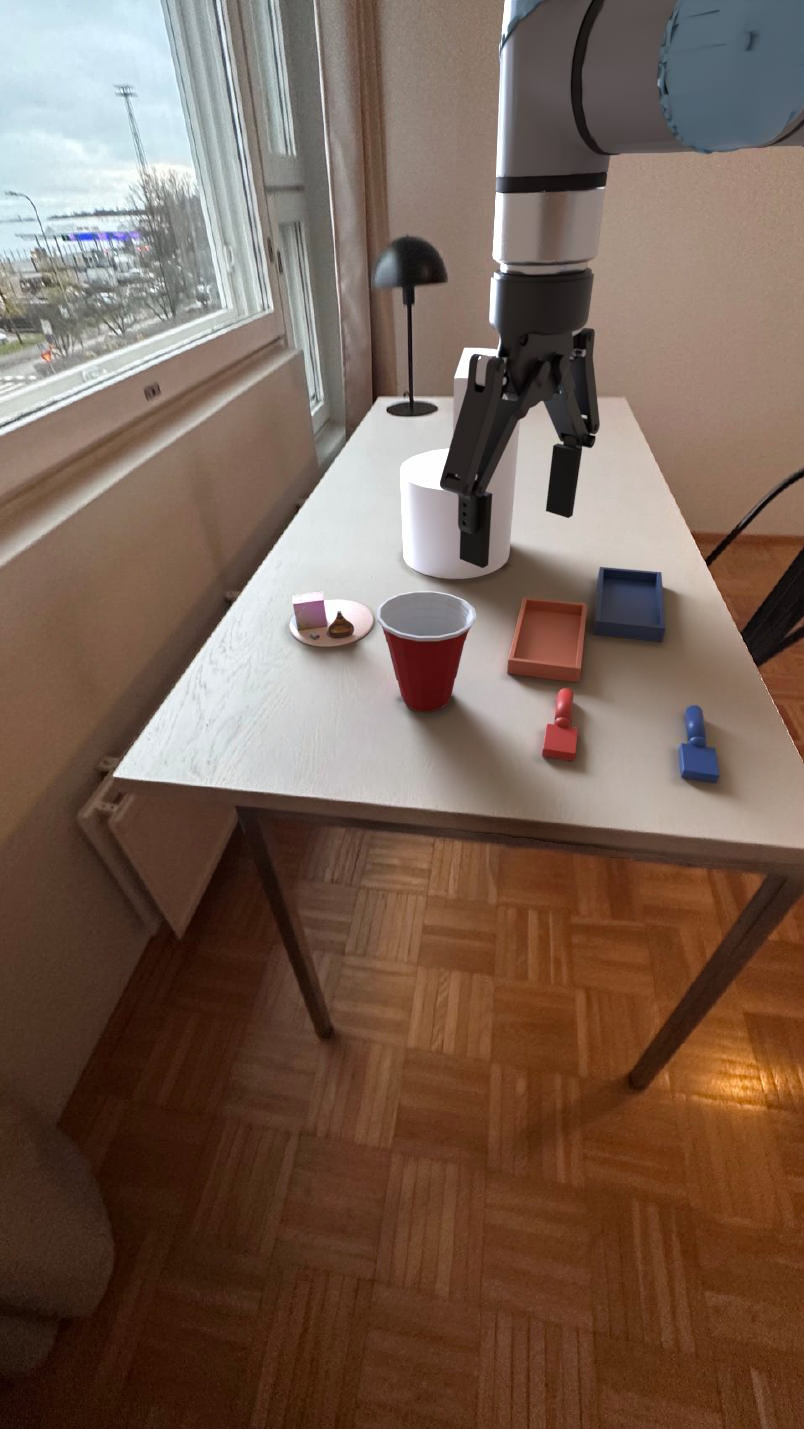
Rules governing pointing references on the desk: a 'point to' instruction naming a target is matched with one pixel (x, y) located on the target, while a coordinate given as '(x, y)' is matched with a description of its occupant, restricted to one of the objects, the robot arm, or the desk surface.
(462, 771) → the desk surface
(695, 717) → the blue stamp
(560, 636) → the terracotta tray
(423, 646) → the plastic cup
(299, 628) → the round pink plate
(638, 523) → the desk surface
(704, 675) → the desk surface
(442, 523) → the cylinder
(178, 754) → the desk surface
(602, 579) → the blue tray
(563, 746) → the red rubber stamp
